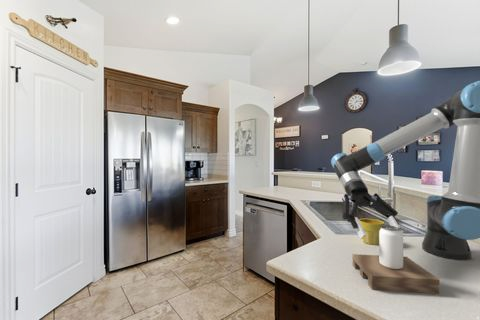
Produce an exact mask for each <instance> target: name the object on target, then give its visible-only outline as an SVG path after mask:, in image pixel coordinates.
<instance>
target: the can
mask: <svg viewBox="0 0 480 320" xmlns="http://www.w3.org/2000/svg"><path fill="white" fill-rule="evenodd" d="M401 230H402V228H401V227H400V228H399V227H395V226H390V225H385V224H384V226H381V229H380V231H379V244H378V247H379V248H378V251H379V252H378V254H379V262H380V264H381V265H382V266H384V267H386V268H390V269H401V268H403V256H404V232H403V233H402V231H403V230H402V231H401Z"/></svg>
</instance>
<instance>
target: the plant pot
mask: <svg viewBox="0 0 480 320" xmlns="http://www.w3.org/2000/svg"><path fill="white" fill-rule="evenodd" d="M358 220H359V222H360V224H361V225H362V227H363V229H364V231H365V233H366V236H365V237H364V238H363V239H362V243H364V244H367V245H374V246H375V245H377V246H379V231H380V229H381V226H384V225H385V222H384V221H382V220H379V219H374V218H360V219H359V218H358Z"/></svg>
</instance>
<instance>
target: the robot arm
mask: <svg viewBox="0 0 480 320" xmlns="http://www.w3.org/2000/svg"><path fill="white" fill-rule="evenodd" d="M453 126H456V127H457V128H456V134H455V135H456V136H455V144H454V149H453V150H454V151H453V156H452V163H451V169H450V175H449V176H450V177H449V184H448V191H447V192H445V193H443V194H442V195H428V197H427V199H426V200H427V202H426V210H427V214H426V216H427V217H426V218H427V219H426V222H427V224H426V225H427V227H426V228H427V229H426V233H425V236H424V238H423V240H422V243H421V247H422V248H421V249H422V250H423V251H425V252H427V253H428V254H431V255H434V256H437V257H442V258H446V259H451V260H460V261H461V260H466V261H467V260H470V259H472V250H471V248H470V245H469V243H468V241H471V240H472V241H473V240H478V239H480V80H478V81H475V82H472V83H470V84H468V85H466V86H465V87H463V89H461V90H460V91H457V92H455V93H454V94H453V95H452V96H450V97H449V98H448V99H446V100H444V101H443V102H441V104H439V105H437V106H436V107H434V108H432V109H431V111H430V113H429V112H428V114H426V115H424V116H422V117H420V118H418V119H416V120H414V121H413V122H410V123H408V124H407V125H405V126H403V127H401V128H399V129H397V130H395V131H393V132H391V133H390V134H387V135H386V136H383V137H382V138H380V139H377V140H376V141H374V142H373V143H371V144H368V145H366V146H363V147H362V148H360V149H358V150H356V151H354V152H353V153H350V154H347V153H345V152H341V153H337V154H336V153H335V155H333V157H332V158H331V160H330V165H331V166H332V168H333V170H334V172H335V174H336V177H337V178H338V179H339V181H340V184H341V186H342V187H343V189H344V192H345V193H344V195H343V196H342V198H341V200H342V204H343V207H342V219H343V220H346V221H347V222H348V223H350V224H351V226H352V228H353V229H355V231H356V233H357V235H358V237H359V239H361V240H363V238H364V237H365V236H366V233H365V231H364V229H363V227H362V225H361V224H360V222H359V218H358V217H357V216H356V213H357V211H358V208H362V207H364V208H367V207H368V208H370V209H373V210H374V211H376V212H377V213H379V214H381V215H382V216H384V217H385V218H386V222H387V223H388V224H389V225H388V226H395V227H399V228H401V226H400V224H399V221H398V220H397V218H396V216H397V215H398V214H399V213H398V211H397V210H396V209H395V208H394V207H392V206H391V205H390V204H389V203H388V202H386V201H385V200H384V199H382V198H381V197H380V196H379V194H378V193H377V192H376V193H374V194H372V195H371V194H370V193H369V190H368V187H367V186H366V183H365V182H364V180H363V179H362V178H361V175H360V174H359V172H358V171H361V170H363V169H366V168H367V167H369V166H373V165H374V164H376V163H379V162H380V161H382V160H384V159H385V158H386V156H388V155H390V154H392V153H394V152H396V151H398V150H400V149H402V148H404V147H406V146H409V145H410V144H412V143H415V142H417V141H418V140H420V139H423V138H424V137H426V136H429V135H431V134H433V133H435V132H437V131H439V130H441V129H448V128H450V127H453ZM350 201H351V202H352V203H353V204H352V207H351V209H350ZM401 231H402V233H403V234H404V230H401Z"/></svg>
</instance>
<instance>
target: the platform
mask: <svg viewBox="0 0 480 320" xmlns="http://www.w3.org/2000/svg"><path fill="white" fill-rule="evenodd" d="M352 267H353V268H354V269H355V270H359V275H360V277H361V278H362V279H367V286H368V287H369V288H370V289H371V290H380V291H393V292H395V291H398V292H410V293H411V292H415V293H427V292H434V293H433V294H439V293H440V284H441V283H440V282H441V281H440V280H441V279H440V278H439V277H437V276H435V275H434V274H432V273H431V272H429V271H428V270H427V269H425V268H423V267H422V266H421V265H419V264H418V263H416V262H415V261H414V260H413V259H411V258H409V257H408V256H404V255H403V268H401V269H390V268H386V267H384V266H382V265H381V264H380V262H379V255H378V254H376V255H375V254H357V253H356V254H353V253H352Z"/></svg>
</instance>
